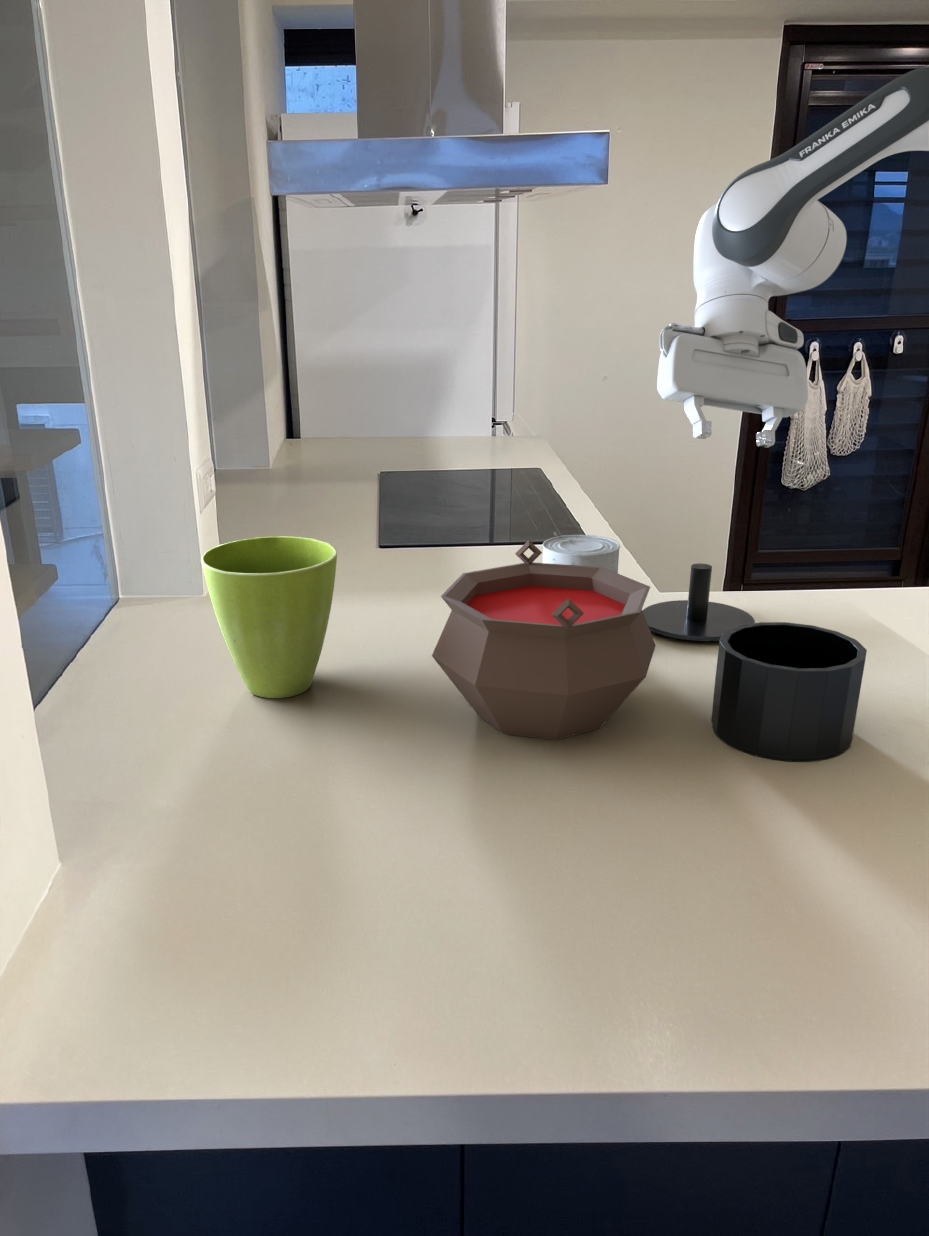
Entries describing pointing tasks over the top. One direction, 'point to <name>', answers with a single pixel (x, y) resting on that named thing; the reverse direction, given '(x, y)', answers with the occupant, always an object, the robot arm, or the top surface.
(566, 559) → the tin can
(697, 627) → the lid
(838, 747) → the pot
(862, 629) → the top surface
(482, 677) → the brown cauldron
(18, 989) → the top surface
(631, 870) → the top surface
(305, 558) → the flower pot
